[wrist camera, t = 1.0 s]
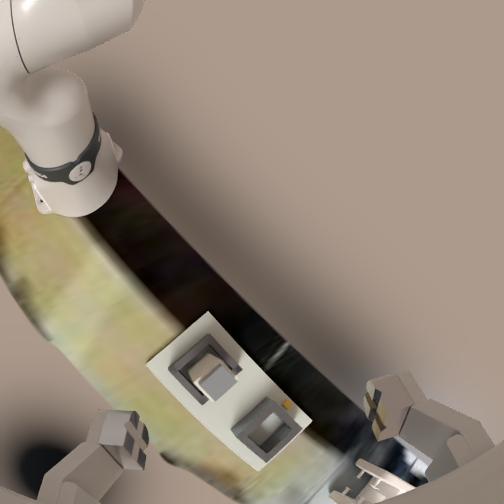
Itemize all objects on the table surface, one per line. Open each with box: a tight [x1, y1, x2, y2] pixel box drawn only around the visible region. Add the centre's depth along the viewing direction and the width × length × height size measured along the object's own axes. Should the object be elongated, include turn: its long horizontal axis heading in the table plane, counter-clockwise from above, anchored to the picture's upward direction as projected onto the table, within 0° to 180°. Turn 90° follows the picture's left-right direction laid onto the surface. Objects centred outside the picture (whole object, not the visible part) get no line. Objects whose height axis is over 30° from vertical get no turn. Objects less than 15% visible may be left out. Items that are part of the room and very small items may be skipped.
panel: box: [146, 311, 312, 472], centre depth 43 cm, size 26×13×5 cm, turn 43°
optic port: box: [230, 396, 303, 463], centre depth 42 cm, size 7×8×4 cm
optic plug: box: [187, 352, 238, 402], centre depth 37 cm, size 3×4×16 cm
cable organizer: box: [328, 458, 416, 504], centre depth 40 cm, size 15×11×12 cm
